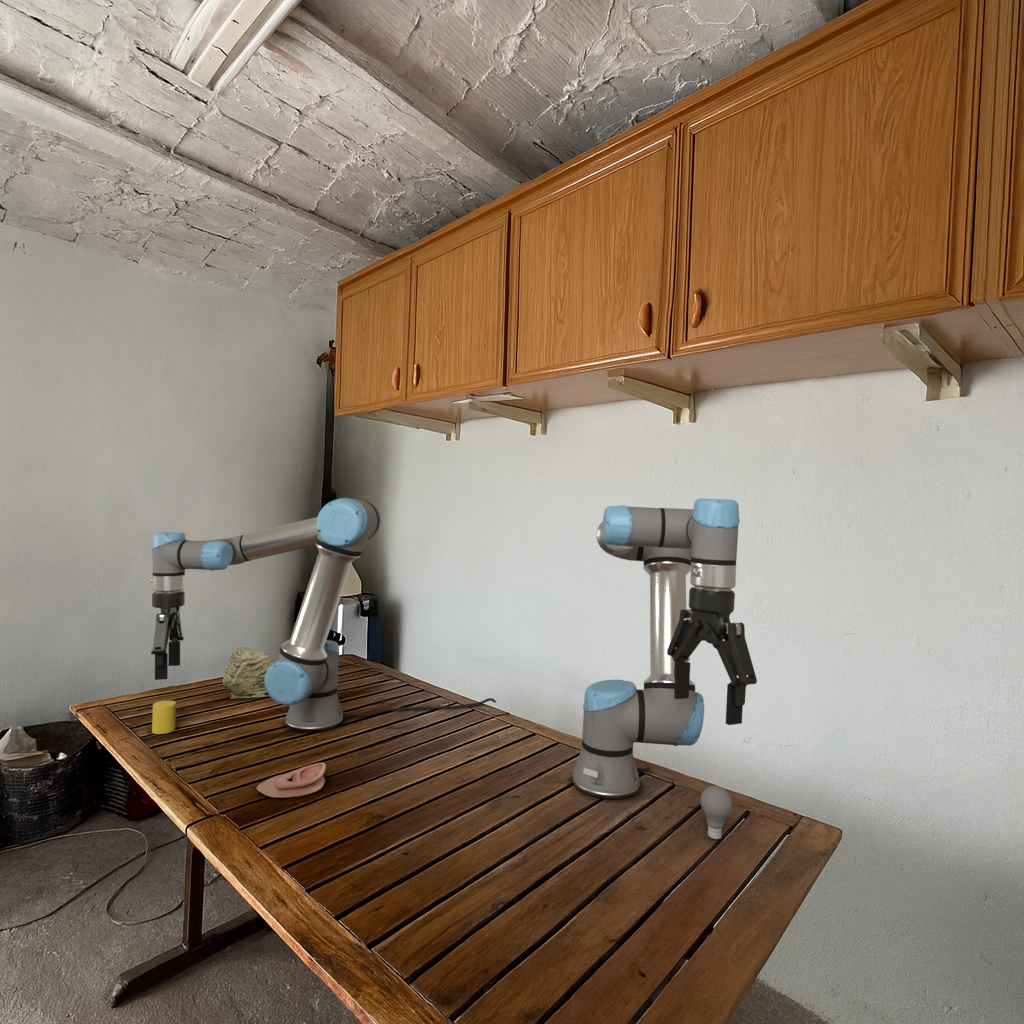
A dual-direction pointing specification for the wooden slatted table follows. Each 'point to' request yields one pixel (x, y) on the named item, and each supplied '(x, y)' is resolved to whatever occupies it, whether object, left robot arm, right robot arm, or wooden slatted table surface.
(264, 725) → the wooden slatted table surface
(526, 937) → the wooden slatted table surface
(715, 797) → the light bulb
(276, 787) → the anatomical model
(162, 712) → the cylinder
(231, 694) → the fossil
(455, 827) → the wooden slatted table surface
